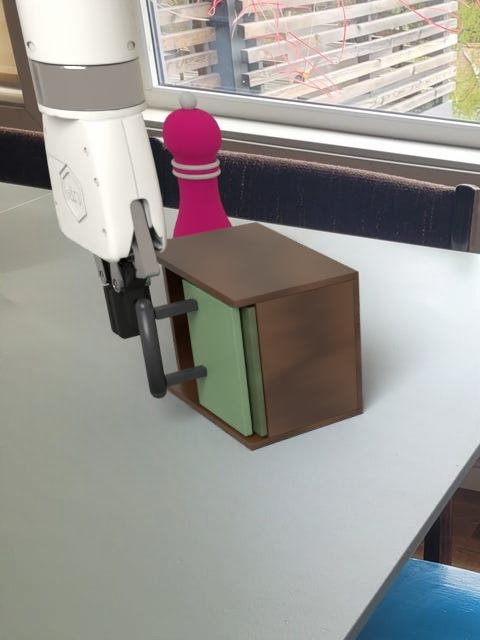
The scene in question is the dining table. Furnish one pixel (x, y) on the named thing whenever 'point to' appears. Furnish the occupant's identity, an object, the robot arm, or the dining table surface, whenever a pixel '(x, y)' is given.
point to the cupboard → (274, 327)
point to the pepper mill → (195, 167)
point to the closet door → (201, 353)
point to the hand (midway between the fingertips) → (134, 331)
